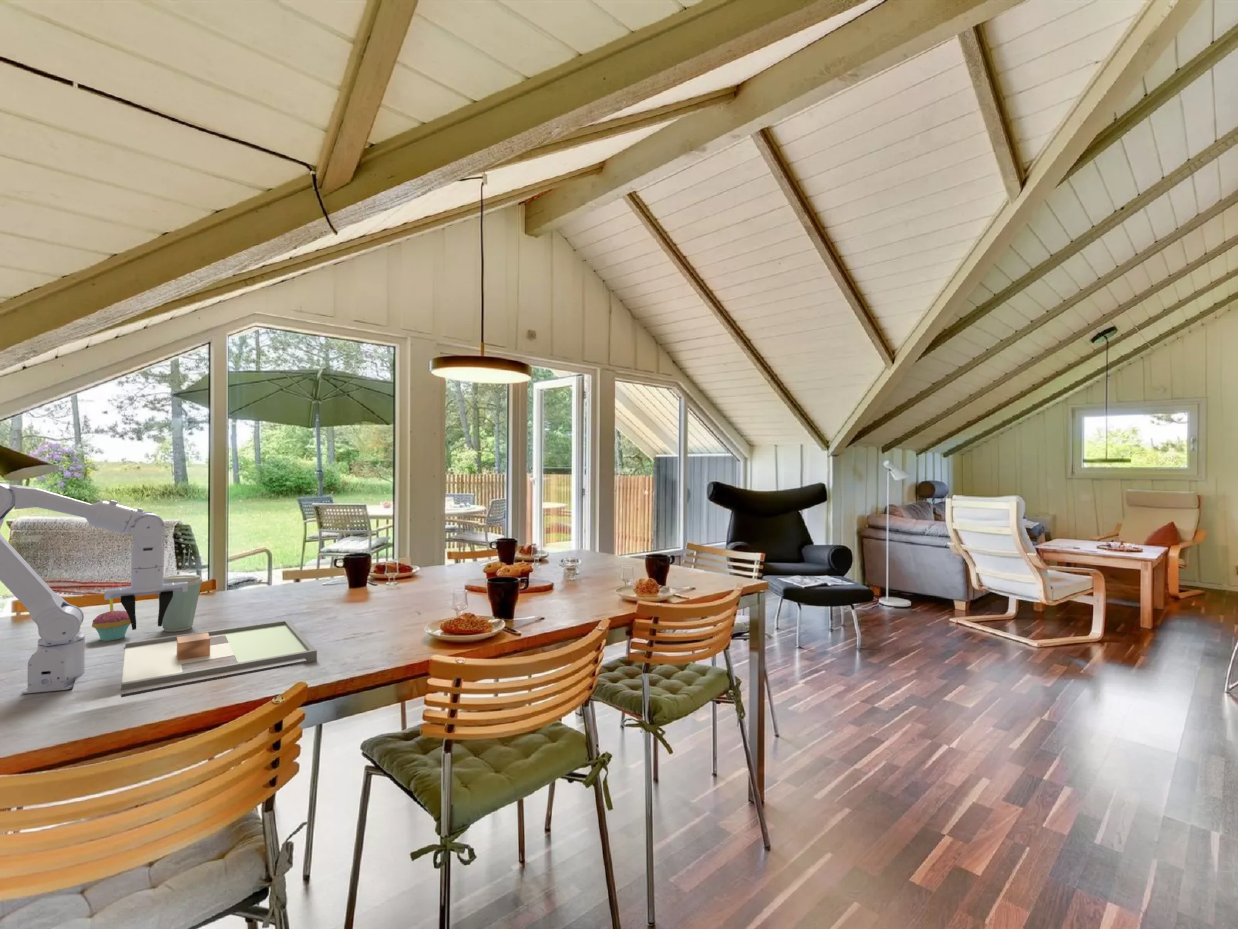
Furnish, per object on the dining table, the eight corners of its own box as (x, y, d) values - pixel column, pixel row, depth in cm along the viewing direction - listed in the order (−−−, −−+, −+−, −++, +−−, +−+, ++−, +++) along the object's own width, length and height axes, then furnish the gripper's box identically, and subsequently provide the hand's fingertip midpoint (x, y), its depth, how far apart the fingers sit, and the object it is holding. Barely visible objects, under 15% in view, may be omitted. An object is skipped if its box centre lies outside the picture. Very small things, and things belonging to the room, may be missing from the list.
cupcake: (85, 639, 153) (86, 593, 153) (124, 631, 161) (125, 587, 161) (101, 644, 149) (101, 597, 149) (140, 636, 157) (141, 591, 157)
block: (177, 660, 134) (178, 643, 134) (176, 654, 138) (176, 636, 138) (210, 655, 137) (210, 638, 137) (207, 649, 142) (207, 632, 142)
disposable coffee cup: (163, 625, 167) (163, 572, 167) (207, 622, 171) (208, 570, 171) (148, 635, 157) (148, 579, 157) (196, 632, 161) (196, 577, 161)
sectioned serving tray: (121, 697, 117) (121, 684, 117) (125, 652, 143) (125, 642, 143) (316, 661, 139) (316, 650, 139) (288, 628, 165) (288, 619, 165)
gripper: (186, 561, 140) (186, 618, 140) (105, 567, 131) (105, 628, 131) (188, 565, 135) (187, 624, 135) (104, 572, 126) (103, 635, 126)
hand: (147, 627), depth 133 cm, fingers open, 4 cm apart
